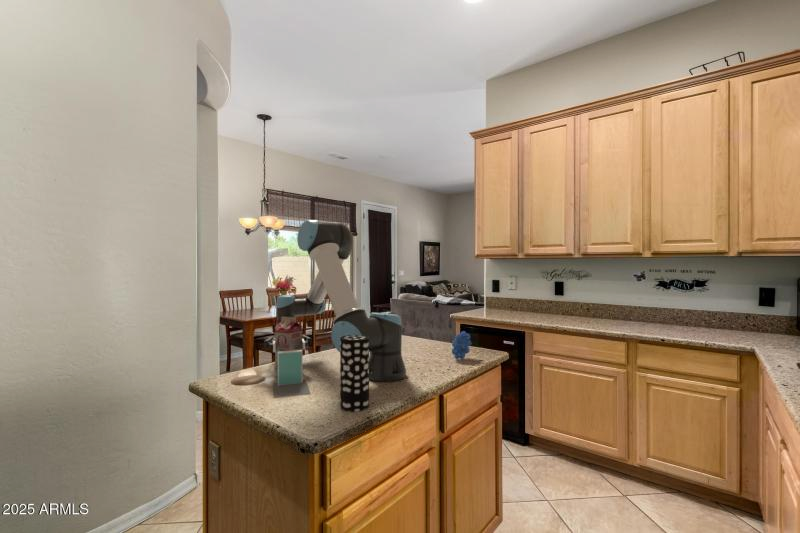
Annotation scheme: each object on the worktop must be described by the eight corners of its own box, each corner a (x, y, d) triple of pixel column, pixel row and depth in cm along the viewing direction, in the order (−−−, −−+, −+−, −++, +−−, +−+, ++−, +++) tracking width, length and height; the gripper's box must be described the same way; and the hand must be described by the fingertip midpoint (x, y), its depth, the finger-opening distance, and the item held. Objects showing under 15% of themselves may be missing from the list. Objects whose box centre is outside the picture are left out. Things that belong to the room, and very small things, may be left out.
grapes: (463, 354, 174) (463, 328, 174) (474, 357, 169) (474, 330, 169) (445, 358, 167) (445, 331, 167) (456, 362, 162) (456, 333, 162)
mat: (273, 385, 131) (273, 383, 131) (306, 381, 134) (306, 380, 134) (273, 399, 117) (273, 397, 117) (310, 395, 120) (310, 394, 120)
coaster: (270, 378, 139) (270, 375, 139) (254, 387, 128) (254, 385, 128) (242, 376, 140) (242, 374, 140) (224, 386, 130) (224, 383, 130)
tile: (277, 383, 130) (277, 351, 130) (301, 381, 133) (301, 349, 133) (277, 385, 128) (277, 352, 128) (302, 383, 131) (302, 351, 131)
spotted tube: (371, 409, 109) (371, 339, 109) (342, 413, 106) (342, 341, 106) (365, 399, 117) (365, 334, 117) (338, 402, 114) (338, 335, 114)
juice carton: (289, 381, 135) (289, 319, 135) (275, 379, 138) (275, 317, 137) (302, 376, 141) (302, 316, 141) (288, 374, 144) (287, 315, 143)
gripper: (314, 343, 160) (321, 355, 138) (257, 346, 153) (255, 360, 131) (314, 325, 160) (321, 334, 138) (257, 328, 152) (255, 338, 131)
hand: (289, 347), depth 135 cm, fingers closed on juice carton, 9 cm apart
